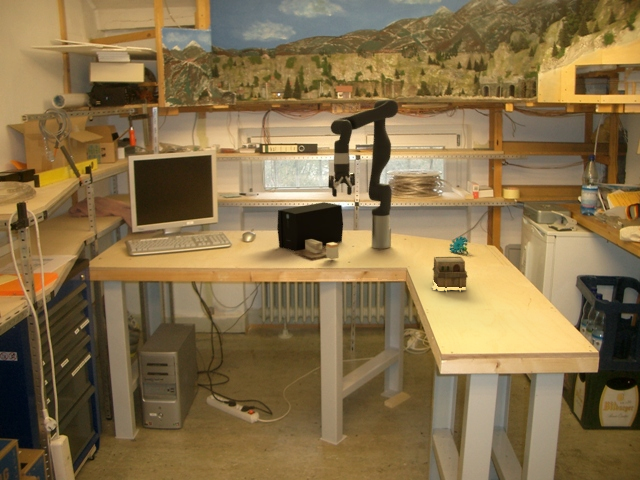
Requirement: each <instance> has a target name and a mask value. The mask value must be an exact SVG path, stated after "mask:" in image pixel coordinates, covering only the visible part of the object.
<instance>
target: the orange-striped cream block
mask: <svg viewBox="0 0 640 480" xmlns="http://www.w3.org/2000/svg"><path fill="white" fill-rule="evenodd" d="M339 246H340V245H339V243H338V242H337V243H334V242H332V243H326V245H325V248H326V258H327V259H330V260H335V259H339V256H340V255H339Z"/></svg>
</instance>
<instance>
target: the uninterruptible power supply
mask: <svg viewBox="0 0 640 480" xmlns="http://www.w3.org/2000/svg"><path fill="white" fill-rule="evenodd" d="M276 228H277V238H278V246H279V248H280V249H286V250H289V251H292V252H294V251H298V250H304V249H305V240H310V239H313V240H316V241H319V242H322V247H324V246H325V247H326V243H332V242H334V243H337V244H338V243H341V242H343V233H344V232H343V229H344V218H343V207H342V204H335V203H329V202H325V201H323V202H318V203H312V204H306V205H300V206H294V207H291V208H290V207H289V208H284V209H279V210H278V211H277V227H276Z"/></svg>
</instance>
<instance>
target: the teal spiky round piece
mask: <svg viewBox="0 0 640 480" xmlns="http://www.w3.org/2000/svg"><path fill="white" fill-rule="evenodd" d="M467 246H468V239H467V238H466V237H465V236H462V235H460V236H459V237H455V239H454V240H452V241H451V243H450V244H449V251H450V252H451V253H452V254H453V253H455V254H457V253H461V252H465V253H466V254H469V252H468V247H467Z"/></svg>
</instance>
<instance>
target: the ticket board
mask: <svg viewBox="0 0 640 480" xmlns="http://www.w3.org/2000/svg"><path fill="white" fill-rule="evenodd" d="M293 252H294V254H295V255H297V256H299V257H303V258H305V259H308V260H310V261H314V260H315V261H316V260H320V259H326V258H327V257H326V247H324V246H322V242H319V241H316V240H313V239H310V240H305V249H304V250H298V251H293Z"/></svg>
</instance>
